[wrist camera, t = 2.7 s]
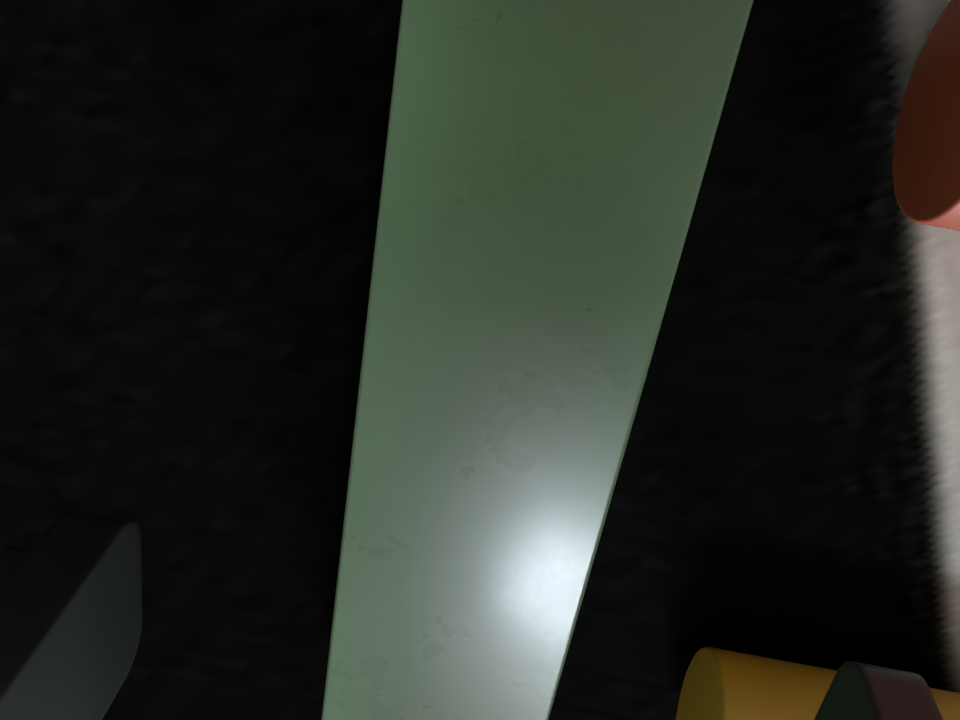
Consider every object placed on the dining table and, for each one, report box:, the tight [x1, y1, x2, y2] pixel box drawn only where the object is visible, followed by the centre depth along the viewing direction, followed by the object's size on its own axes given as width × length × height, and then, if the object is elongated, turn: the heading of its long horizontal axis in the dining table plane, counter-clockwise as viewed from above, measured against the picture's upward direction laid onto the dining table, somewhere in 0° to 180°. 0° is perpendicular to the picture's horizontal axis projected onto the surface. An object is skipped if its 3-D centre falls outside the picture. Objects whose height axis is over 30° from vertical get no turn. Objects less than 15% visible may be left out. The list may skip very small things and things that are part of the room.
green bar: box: [321, 0, 753, 720], centre depth 14 cm, size 4×18×4 cm, turn 171°
